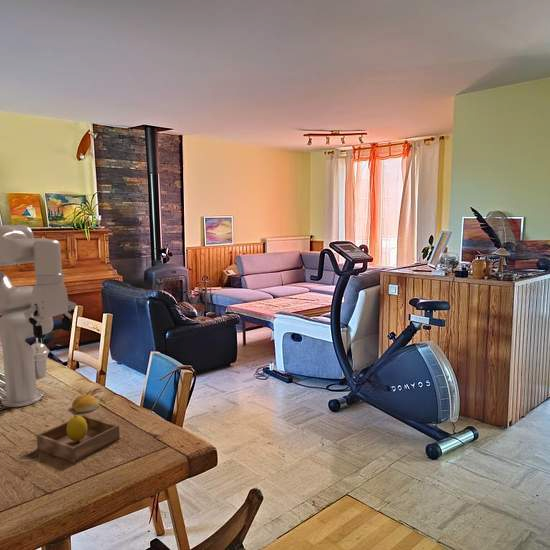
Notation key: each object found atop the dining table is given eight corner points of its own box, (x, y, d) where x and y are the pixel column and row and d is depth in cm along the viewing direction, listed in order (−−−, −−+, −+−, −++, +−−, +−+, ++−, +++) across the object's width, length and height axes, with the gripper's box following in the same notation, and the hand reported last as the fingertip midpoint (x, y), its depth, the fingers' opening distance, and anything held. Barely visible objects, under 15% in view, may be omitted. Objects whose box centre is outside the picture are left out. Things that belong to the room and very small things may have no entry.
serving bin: (37, 448, 135) (36, 435, 134) (84, 427, 148) (83, 414, 148) (73, 462, 127) (72, 448, 126) (119, 438, 140) (118, 425, 140)
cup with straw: (28, 374, 197) (24, 327, 194) (52, 371, 200) (49, 324, 198) (27, 381, 189) (23, 331, 186) (52, 377, 193) (49, 329, 190)
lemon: (70, 448, 133) (68, 421, 132) (65, 441, 138) (63, 414, 137) (90, 442, 137) (89, 415, 136) (84, 435, 141) (83, 409, 140)
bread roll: (78, 415, 157) (78, 403, 157) (69, 407, 164) (69, 395, 164) (103, 408, 163) (102, 397, 162) (93, 400, 169) (93, 389, 169)
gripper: (66, 275, 156) (69, 327, 159) (14, 282, 142) (19, 339, 144) (81, 277, 153) (84, 329, 155) (30, 284, 138) (34, 342, 140)
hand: (52, 334), depth 149 cm, fingers open, 9 cm apart
